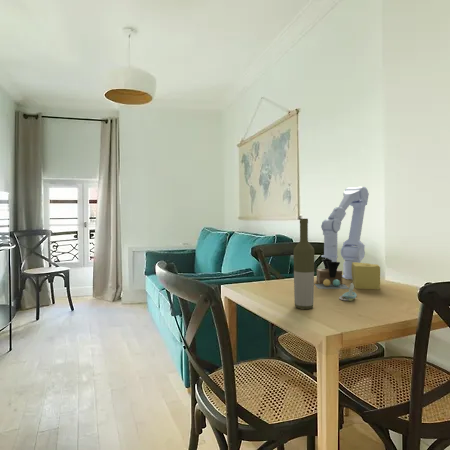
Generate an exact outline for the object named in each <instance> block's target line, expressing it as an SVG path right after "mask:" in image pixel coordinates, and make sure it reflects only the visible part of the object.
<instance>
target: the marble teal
mask: <svg viewBox="0 0 450 450" xmlns="http://www.w3.org/2000/svg"><path fill="white" fill-rule="evenodd" d="M333 285H334V286H339V285H340V281H339V280H337V279H335V280H334V281H333Z"/></svg>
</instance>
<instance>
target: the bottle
mask: <svg viewBox="0 0 450 450" xmlns="http://www.w3.org/2000/svg"><path fill="white" fill-rule="evenodd" d="M308 224H309V218H299V242H298V243H297V244H296V245H295V247H293V251H292V252H293V253H292V254H293V283H294V284H293V289H294V290H293V292H294V297H293V298H294V307H295V308H297V309H300V310H310V309H313V307H314V301H315V300H314V299H315V298H314V294H315V293H314V291H315V248H314V247H313V246H312V244H311V243H310V242H309V238H308V237H309V228H308V227H309V225H308Z"/></svg>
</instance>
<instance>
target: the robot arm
mask: <svg viewBox="0 0 450 450" xmlns="http://www.w3.org/2000/svg"><path fill="white" fill-rule="evenodd" d="M369 193H370V192H369V191H368V187H366V186H358V187H346V188H345V189H344V191H343V193H342V194H343V197H342V199H341V202H340V203H339V205H338V206H337V207H336V206H335V207H334V208H333V210H332V211H331V213H330V214H329V216H328V218H325V219H324V220H323V221H322V223H321V225H320V226H321V227H320V228H321V230H322V235H323V254H322V255H320V257H321V258H322V259H321V261H322V262H323V265H324V269H329V275H330V278H335V276H336V272H337V269H339V267H340V264H341V262H340V261H338V258H339V256H338V232H339V231H340V230H341V225H342V221H343V219H344V218H345V217H346V215H347V212H346V210H347V209H348V208H349V206H351V207H352V209H353V210H352V216H351V221H350V226H349V228H350V229H349V233H348V238H347V240H345V241H343V244H342V246H341V249H340V256H341V258H342V260H344V261H343V265H342V268H343V270H342V279H343V278H344V279H345V280H352V262H358V263H362V262H361V261H362V260H363V259H364V257H365V255H366V252H365V247H366V245H365V244H364V243H363V242H362V241H361V237H362V236H361V235H362V231H363V230H362V229H363V223H364V217H365V210H366V206H367V205H368V202H369V195H370V194H369Z"/></svg>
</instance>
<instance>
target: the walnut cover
mask: <svg viewBox="0 0 450 450" xmlns="http://www.w3.org/2000/svg"><path fill="white" fill-rule="evenodd" d="M342 275H343V270H341V269H340V268H337V272H336V276H335V278H330V275H329V269H325V268H316V282H317V284H323V281H324V280H326V279H328V280H330V282H331V284H333V281H334V280H335V279H337V280H339V281H340V284H343V277H342Z"/></svg>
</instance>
